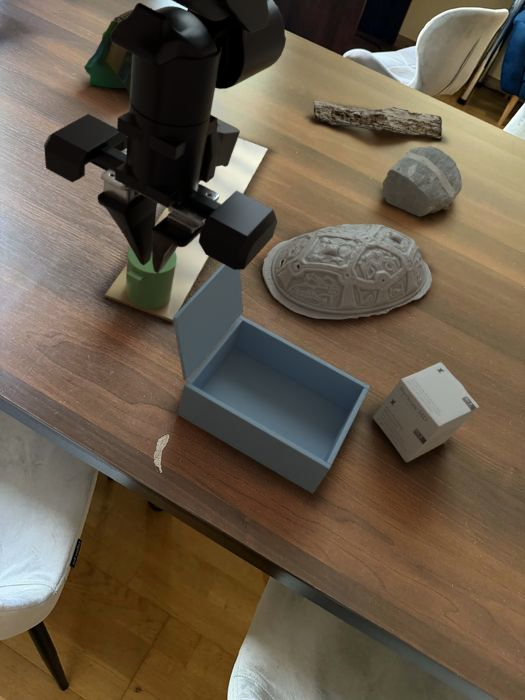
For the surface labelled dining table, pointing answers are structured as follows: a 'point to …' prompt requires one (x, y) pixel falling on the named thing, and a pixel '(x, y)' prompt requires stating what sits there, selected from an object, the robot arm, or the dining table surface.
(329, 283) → the turtle shell
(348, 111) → the driftwood
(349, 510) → the dining table surface
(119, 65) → the sculpture
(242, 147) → the board
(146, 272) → the pot
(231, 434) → the carton
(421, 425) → the white cardboard box
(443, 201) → the decorative stone
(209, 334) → the flap
